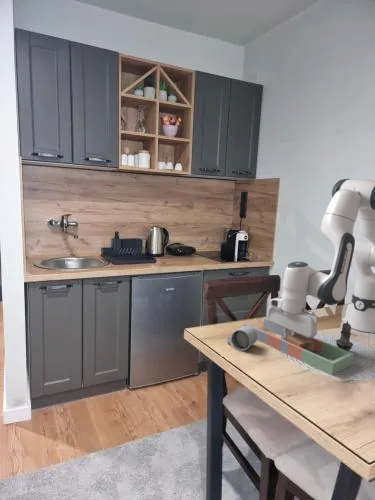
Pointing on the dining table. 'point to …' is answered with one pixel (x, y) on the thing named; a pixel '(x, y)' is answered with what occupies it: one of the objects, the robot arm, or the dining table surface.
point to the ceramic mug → (243, 338)
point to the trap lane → (323, 364)
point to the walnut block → (301, 342)
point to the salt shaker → (345, 338)
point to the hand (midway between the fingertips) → (288, 340)
